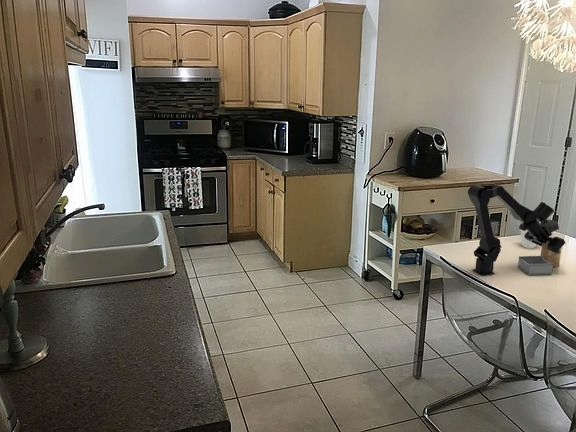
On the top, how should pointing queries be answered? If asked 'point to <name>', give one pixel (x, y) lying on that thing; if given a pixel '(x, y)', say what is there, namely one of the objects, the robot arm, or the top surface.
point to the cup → (526, 241)
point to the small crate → (550, 255)
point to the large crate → (535, 265)
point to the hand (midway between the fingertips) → (553, 250)
